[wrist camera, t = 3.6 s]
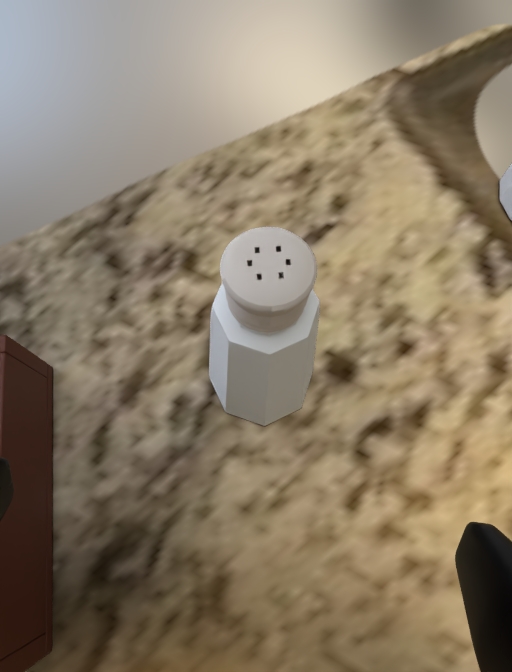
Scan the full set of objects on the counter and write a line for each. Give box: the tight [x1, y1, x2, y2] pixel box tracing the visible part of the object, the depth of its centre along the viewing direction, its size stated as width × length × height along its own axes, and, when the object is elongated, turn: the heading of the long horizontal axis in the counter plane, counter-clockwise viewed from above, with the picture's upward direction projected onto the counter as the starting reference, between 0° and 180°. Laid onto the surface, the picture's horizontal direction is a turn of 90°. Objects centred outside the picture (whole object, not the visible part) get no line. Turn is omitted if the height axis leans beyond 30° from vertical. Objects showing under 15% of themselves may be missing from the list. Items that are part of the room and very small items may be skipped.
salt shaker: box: [209, 227, 320, 426], centre depth 17 cm, size 5×5×11 cm
